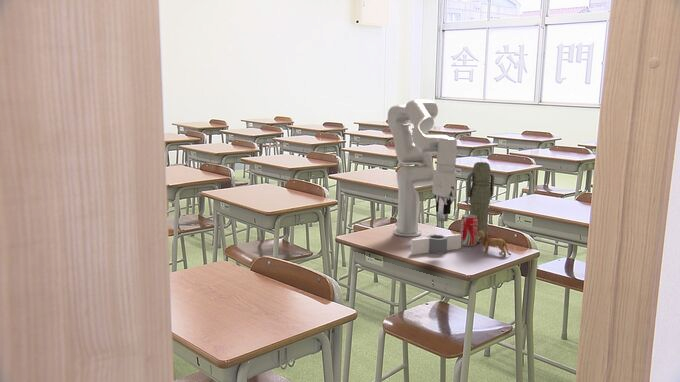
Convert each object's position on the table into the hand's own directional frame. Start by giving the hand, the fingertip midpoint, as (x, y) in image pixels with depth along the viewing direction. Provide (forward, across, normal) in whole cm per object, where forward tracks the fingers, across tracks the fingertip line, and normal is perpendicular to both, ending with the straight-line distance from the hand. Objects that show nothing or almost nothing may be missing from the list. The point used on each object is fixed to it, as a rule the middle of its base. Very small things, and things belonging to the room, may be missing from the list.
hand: (443, 212), depth 231 cm
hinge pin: (+3, 0, 0) cm, 3 cm away
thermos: (+17, -7, +25) cm, 31 cm away
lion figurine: (+17, +11, +18) cm, 27 cm away
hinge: (+17, -2, -1) cm, 17 cm away
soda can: (+17, -4, +17) cm, 25 cm away
